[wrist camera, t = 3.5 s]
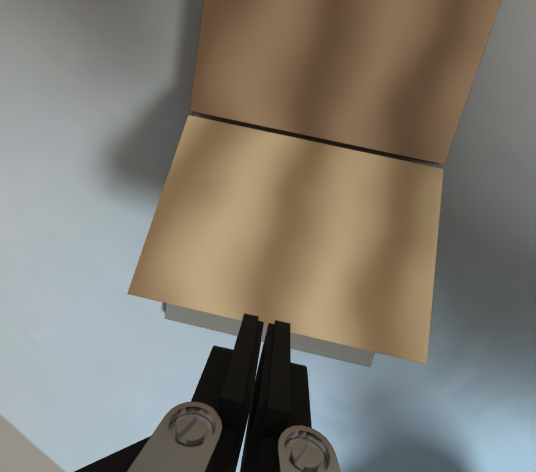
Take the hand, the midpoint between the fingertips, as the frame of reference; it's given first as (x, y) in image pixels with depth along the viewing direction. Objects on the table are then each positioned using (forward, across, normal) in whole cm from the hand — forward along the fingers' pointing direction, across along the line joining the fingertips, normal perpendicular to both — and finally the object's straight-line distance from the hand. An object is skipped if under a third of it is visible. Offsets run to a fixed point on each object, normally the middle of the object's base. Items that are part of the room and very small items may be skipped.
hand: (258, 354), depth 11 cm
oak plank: (+11, -1, -2) cm, 11 cm away
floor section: (+15, -1, -6) cm, 16 cm away
